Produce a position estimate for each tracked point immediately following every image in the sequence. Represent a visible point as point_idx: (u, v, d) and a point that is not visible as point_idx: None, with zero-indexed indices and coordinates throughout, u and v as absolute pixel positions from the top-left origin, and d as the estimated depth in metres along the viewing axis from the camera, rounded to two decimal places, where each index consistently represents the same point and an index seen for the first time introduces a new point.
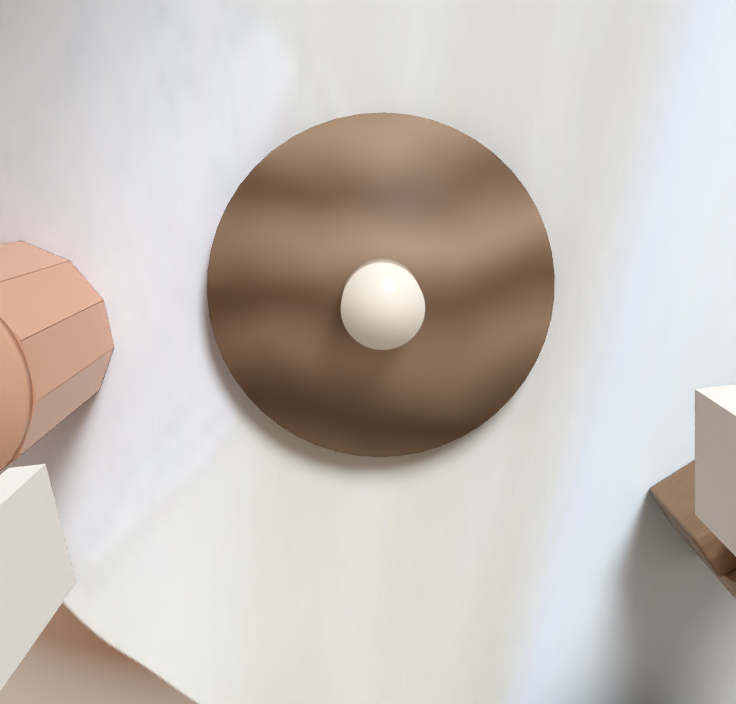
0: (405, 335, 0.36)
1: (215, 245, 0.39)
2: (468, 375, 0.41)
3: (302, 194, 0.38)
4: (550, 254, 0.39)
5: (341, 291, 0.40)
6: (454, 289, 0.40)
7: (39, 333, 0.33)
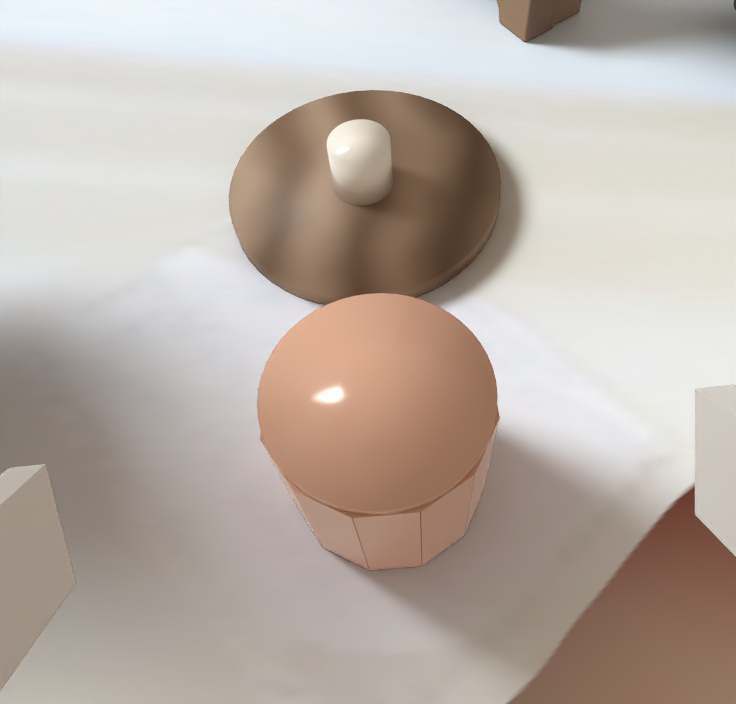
0: (379, 128, 0.48)
1: (312, 287, 0.47)
2: (429, 131, 0.53)
3: (279, 229, 0.49)
4: (340, 94, 0.56)
5: (357, 206, 0.50)
6: None
7: None
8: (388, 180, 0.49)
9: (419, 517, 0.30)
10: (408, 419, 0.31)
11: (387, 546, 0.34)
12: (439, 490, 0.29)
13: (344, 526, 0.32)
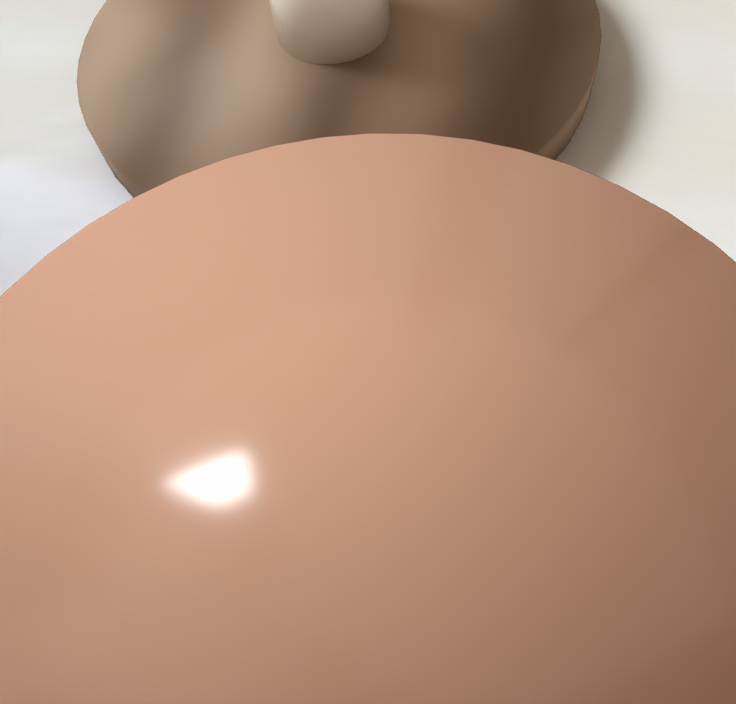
0: None
1: None
2: None
3: (169, 111, 0.25)
4: None
5: (323, 66, 0.26)
6: None
7: None
8: (382, 8, 0.25)
9: None
10: (504, 636, 0.07)
11: None
12: None
13: None
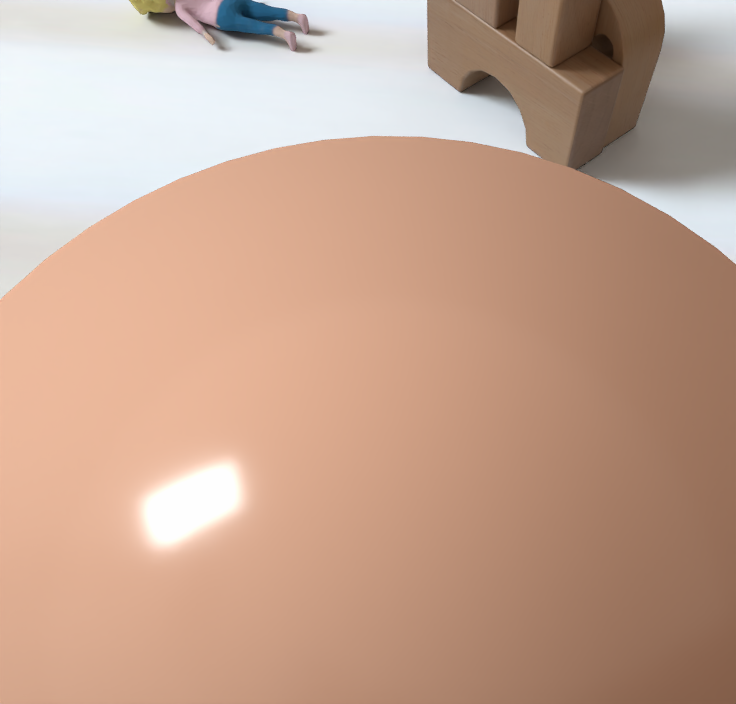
0: None
1: None
2: None
3: None
4: None
5: None
6: None
7: None
8: None
9: None
10: (505, 642, 0.07)
11: None
12: None
13: None
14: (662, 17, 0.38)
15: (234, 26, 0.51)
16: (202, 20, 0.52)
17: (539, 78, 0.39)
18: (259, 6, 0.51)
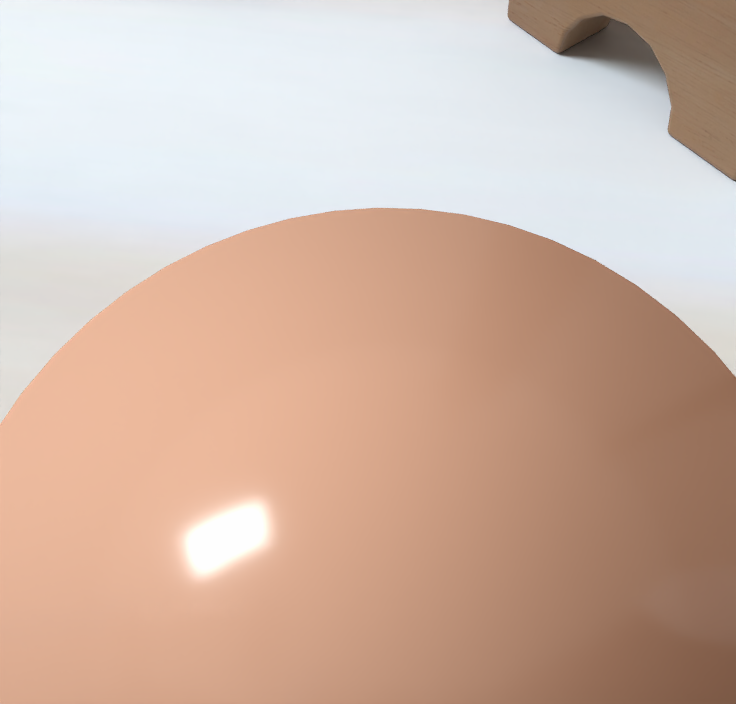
0: None
1: None
2: None
3: None
4: None
5: None
6: None
7: None
8: None
9: None
10: (490, 663, 0.08)
11: None
12: None
13: None
14: None
15: None
16: None
17: (717, 18, 0.24)
18: None
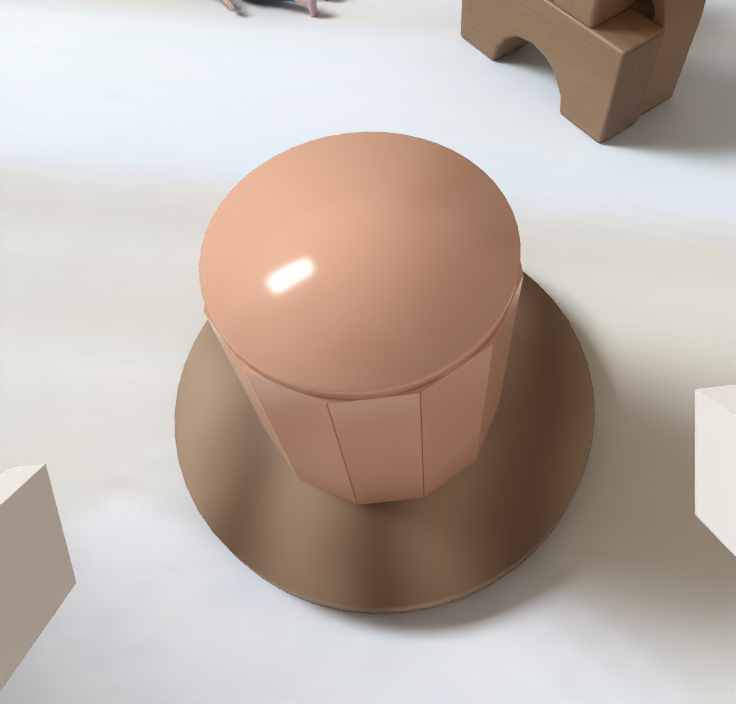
0: None
1: (305, 590, 0.29)
2: None
3: (252, 475, 0.31)
4: None
5: None
6: None
7: None
8: None
9: (419, 404, 0.22)
10: (401, 275, 0.23)
11: (378, 461, 0.26)
12: (445, 360, 0.21)
13: (319, 426, 0.24)
14: None
15: None
16: None
17: (578, 40, 0.39)
18: None
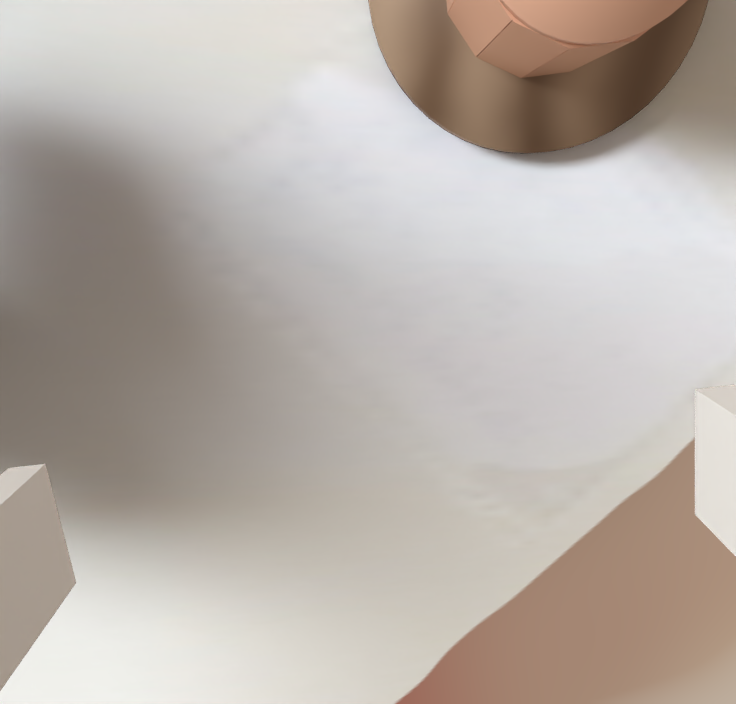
0: None
1: (483, 142, 0.42)
2: None
3: (439, 53, 0.41)
4: None
5: None
6: None
7: None
8: None
9: (626, 43, 0.32)
10: None
11: (564, 62, 0.36)
12: (661, 19, 0.30)
13: (544, 51, 0.34)
14: None
15: None
16: None
17: None
18: None
